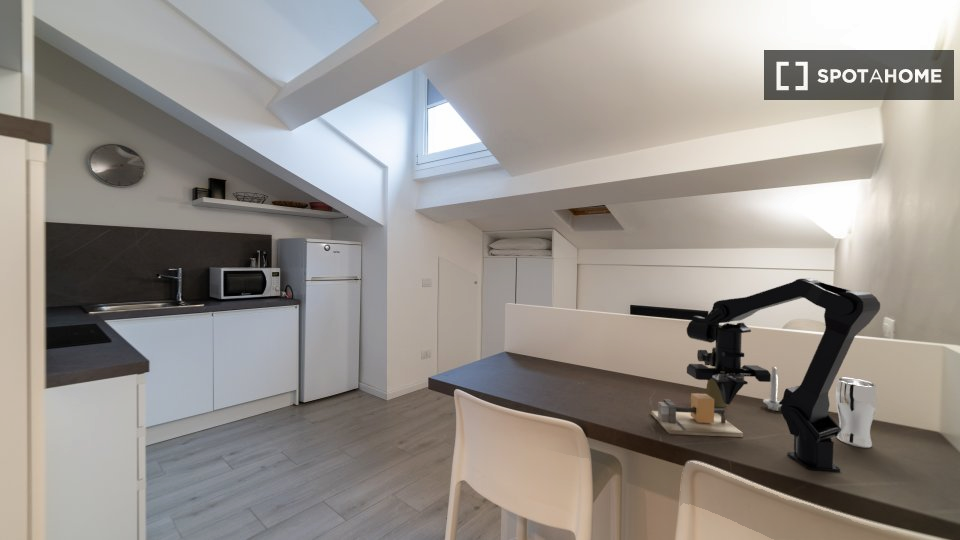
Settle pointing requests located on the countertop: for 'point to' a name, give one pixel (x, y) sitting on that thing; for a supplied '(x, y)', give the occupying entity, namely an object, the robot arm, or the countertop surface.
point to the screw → (773, 392)
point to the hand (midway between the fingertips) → (726, 403)
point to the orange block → (702, 407)
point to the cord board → (692, 421)
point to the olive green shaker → (715, 393)
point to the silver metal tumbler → (855, 410)
